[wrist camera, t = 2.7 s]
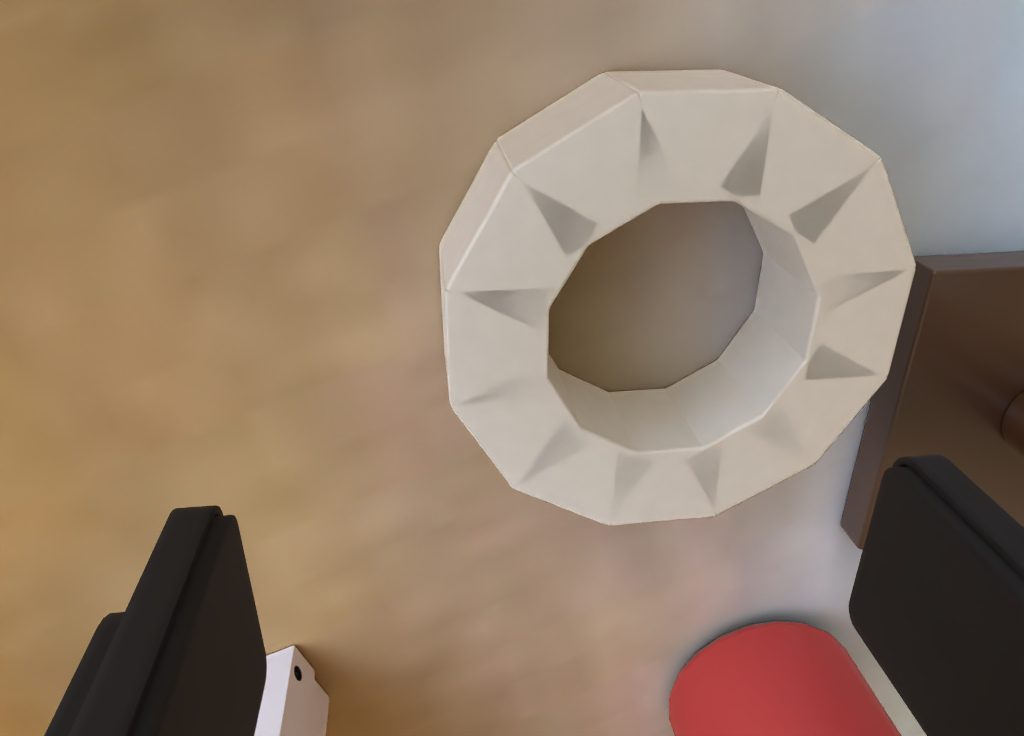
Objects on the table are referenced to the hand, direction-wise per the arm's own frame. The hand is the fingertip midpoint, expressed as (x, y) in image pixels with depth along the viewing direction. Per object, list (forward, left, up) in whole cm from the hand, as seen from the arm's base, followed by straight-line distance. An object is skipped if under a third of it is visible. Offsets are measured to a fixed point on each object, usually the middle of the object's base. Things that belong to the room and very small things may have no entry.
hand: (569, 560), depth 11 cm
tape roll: (0, +4, -9) cm, 10 cm away
